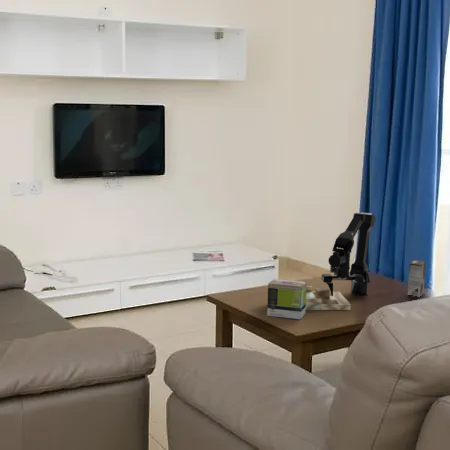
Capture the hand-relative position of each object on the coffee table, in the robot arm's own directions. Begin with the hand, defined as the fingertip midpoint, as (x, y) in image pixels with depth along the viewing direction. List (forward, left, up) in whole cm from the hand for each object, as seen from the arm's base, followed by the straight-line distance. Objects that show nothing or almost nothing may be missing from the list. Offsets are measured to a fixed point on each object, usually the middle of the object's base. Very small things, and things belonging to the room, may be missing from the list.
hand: (341, 296), depth 340 cm
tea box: (+29, +19, -4) cm, 35 cm away
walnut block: (+9, 0, -1) cm, 9 cm away
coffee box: (-41, -17, -4) cm, 44 cm away
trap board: (+9, 0, -3) cm, 9 cm away
